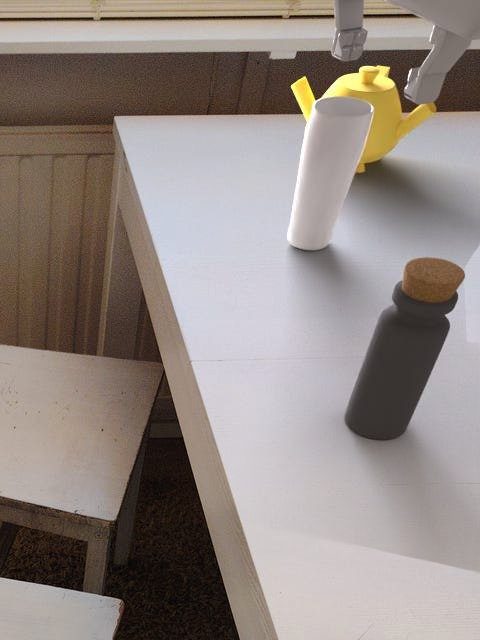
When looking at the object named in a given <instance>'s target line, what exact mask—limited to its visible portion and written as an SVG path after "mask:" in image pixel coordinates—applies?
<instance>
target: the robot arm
mask: <svg viewBox="0 0 480 640" xmlns="http://www.w3.org/2000/svg"><path fill="white" fill-rule="evenodd" d="M332 1H333V2H332V3H333V11H334V12H333V15H334V26H335V32H334V36H333V39H332V45H331V50H330V54H331V55H332V57H334V58H335V59H338V60H340V61H342V62H344V63H346V62H349V61H351V62H353V61H357V60H359V59H360V58H361V56H362V55H363V52H364V45H365V43H366V41H367V37H368V33H369V31H368V30H367V29H365V28H363V26H364V7H365V0H332ZM383 1H384V2H386V3H388V4H390V5H393V6H395V7H396V8H398V9H401V10H404V11H406V12H407V13H409V14H412V15H414V16H416V17H418V18H420V19H423V20H425V21H426V22H429V23H431V24H433V27H432V30H431V34H430V37H429V40H428V41H429V45H432V46H433V47H432V48H431V50H430V52H429V53H428V55H427V56H426V58H425V60H424V61H423V62H422V64H421V65H420V66H418V67H413V68H410V70H409V73H408V76H407V82H406V83H407V84H406V85H405V86H404V89H403V96H404V98H405V99H407V100H410V101H411V102H412V103H414V104H416V105H418V106H419V105H421V104H427V103H432V102H433V103H434V102H436V100H437V99H438V98H439V96H440V93H441V91H442V88H443V85H444V81H445V78H446V76H447V73H449V72H450V70H451V69H452V68H453V67H454V66H455V64H457V62H458V61H459V60H460V58H461V57H462V56H463V55H464V54H465V52H466V51H467V50H468V48H470V46H471V44H472V41H480V0H383Z"/></svg>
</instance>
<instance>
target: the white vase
mask: <svg viewBox="0 0 480 640" xmlns="http://www.w3.org/2000/svg"><path fill="white" fill-rule="evenodd" d="M315 101H316V102H314V104H313V106H312V110H311V113H310V117H309V120H308V124H307V123H306V125H307V128H306V127H305V129H306V132H305V131H304V137H303V140H302V141H303V142H302V147H301V153H300V159H299V167H298V172H297V179H296V184H295V192H294V196H293V197H294V198H293V203H292V209H291V216H290V220H289V221H290V222H289V225H288V228H287V234H286V239H287V241H288V243H289V244H290V245H291V246H292V247H294V248H297V249H300V250H305V251H318V250H322V249H325V248H327V247H328V246H329V245H330V243H331V242H332V239H333V235H334V233H335V229H336V226H337V223H338V220H339V217H340V214H341V212H342V209H343V208H344V207H343V206H344V204H345V202H346V198H347V196H348V193H349V190H350V188H351V185H352V182H353V180H354V177H355V174H356V173H355V172H356V169H357V167H358V164H359V161H360V159H361V156H362V153H363V150H364V147H365V144H366V141H367V137H368V134H369V130H370V126H371V122H372V118H373V114H374V107H373V105H372V104H370V103H369V102H367V101H364V100H362V99H358V98H353V97H346V96H332V97H325V98H322V97H321V98H319V99H317V100H315Z"/></svg>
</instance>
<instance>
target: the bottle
mask: <svg viewBox="0 0 480 640" xmlns="http://www.w3.org/2000/svg"><path fill="white" fill-rule="evenodd" d="M465 278H466V273H465V271H464V269H463V268H462V267H461V266H460V265H458V264H456V263H455V262H453V261H450V260H448V259H443V258H438V257H430V256H429V257H428V256H427V257H418V258H413V259H411V260H409V261H407V263H406V264H405V265H404V267H403V276H402V279H401V280H399V281H398V282H397V283H396V284H395V285H394V288H393V291H392V294H391V301H392V303H393V304H391V305H389V306H387V307H386V308H384V309H383V310H382V311H381V313H380V315H379V317H378V319H377V322H376V325H375V328H374V330H373V333H372V336H371V338H370V341H369V345H368V347H367V349H366V352H365V354H364V358H363V360H362V364H361V367H360V369H359V371H358V375H357V378H356V380H355V383H354V386H353V389H352V391H351V394H350V397H349V400H348V403H347V406H346V409H345V413H344V422H345V423H346V425H347V426H348V428H349V429H350V430H351V431H353V432H354V433H356V434H358V435H359V436H362V437H365V438H368V439H373V440H378V441H379V440H381V441H382V440H383V441H384V440H385V441H386V440H392V439H397V438H399V437H400V436H402V435H403V434H404V433H405V432H406V430H407V428H408V426H409V424H410V422H411V420H412V418H413V415H414V414H415V411H416V410H417V407H418V405H419V402H420V400H421V397H422V395H423V393H424V390H425V388H426V386H427V384H428V382H429V379H430V376H431V375H432V373H433V370H434V368H435V365H436V363H437V361H438V358H439V356H440V353H441V352H442V349H443V347H444V344H445V342H446V340H447V337H448V335H449V332H450V328H451V323H450V320H449V318H448V317H447V315H449V314H450V313H451V312H453V310H454V309H455V307H456V305H457V303H458V300H459V293H458V291H457V290H458V289H459V288H460V286H461V285H462V284H463V281H464V280H465Z"/></svg>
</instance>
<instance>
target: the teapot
mask: <svg viewBox="0 0 480 640" xmlns="http://www.w3.org/2000/svg"><path fill="white" fill-rule="evenodd" d="M390 69H391V66H384V65H376V66H373V65H372V66H371V65H365V66H361V67H360V68H359V71H358V72H355V73H348V74H344V75H342V76H340V77H338V78H337V79H336V80H335V82H333V84H332V85H330V87H329V88H328V89H327V90H326V92H325V93H324V94H323V95H322V97H321V98H325V97H332V96H346V97H353V98H358V99H362V100H364V101H367V102H369V103H370V104H372V105H373V107H374V114H373V118H372V122H371V126H370V130H369V134H368V137H367V141H366V144H365V147H364V150H363V153H362V156H361V159H360V161H359V164H358V167H357V169H356V172H355V174H360V173H364V172H365V171H366V165H365V164H368V163H369V164H370V163H374V162H377V161H380V160H381V159H383V158H384V157H386V156H387V155H388V154H389V153H390V152H392V151H393V149H395V147H396V146H397V145H398V143H399V141H400V140H401V139H403V138H404V137H405V136H407V135H408V134H409V133H411V132H412V131H413V130H415V129H416V128H417V127H418V126H420V125H421V124H423V123H424V122H426V121H427V120H428V119H430V117H432V116H433V115H434V114H436V113H437V106H436V104H435V103H434V102H432V103H427V104H421V105H418V106H417V107H416V108H415V109H413V110H412V111H411V112H410V113H408V114H407V115H406V116H405V117H403V110H402V104H401V99H400V95H399V92H398V88H397V86H396V83H395V82H394V80H392V79H391V78H389V73H390ZM290 87H291V89H292V91H293V94H294V96H295V98H296V101H297V102H298V105H299V107H300V110H301V112H302V113H303V116H304V119H305V120H306V126H305V129H304V133H305V132H306V128H307V124H308V120H309V117H310V113H311V110H312V106H313V104H314V102H316V101H317V100H316V99H315V96H314V94H313V92H312V89H311V87H310V84H309V82H308V79H307V76H303V77H301V78H300V79H298V80H297V81H296V82H294V83H293V84H291V86H290Z"/></svg>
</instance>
